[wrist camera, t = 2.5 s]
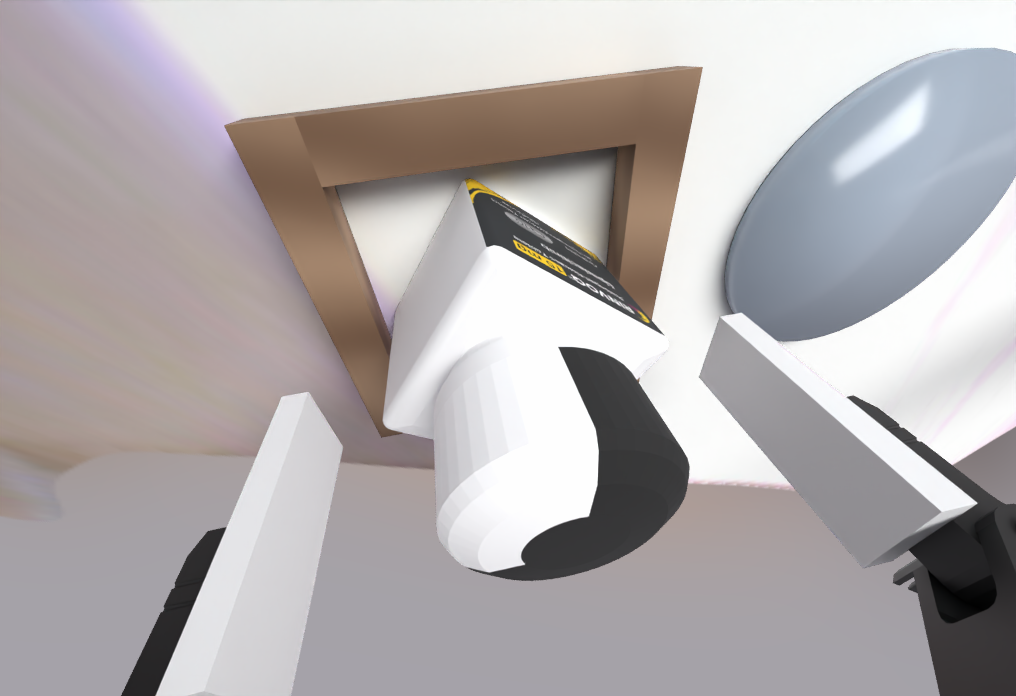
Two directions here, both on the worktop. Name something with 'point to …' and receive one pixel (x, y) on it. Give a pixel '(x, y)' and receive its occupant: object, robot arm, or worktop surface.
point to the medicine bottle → (530, 396)
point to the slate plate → (877, 194)
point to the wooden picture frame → (459, 144)
